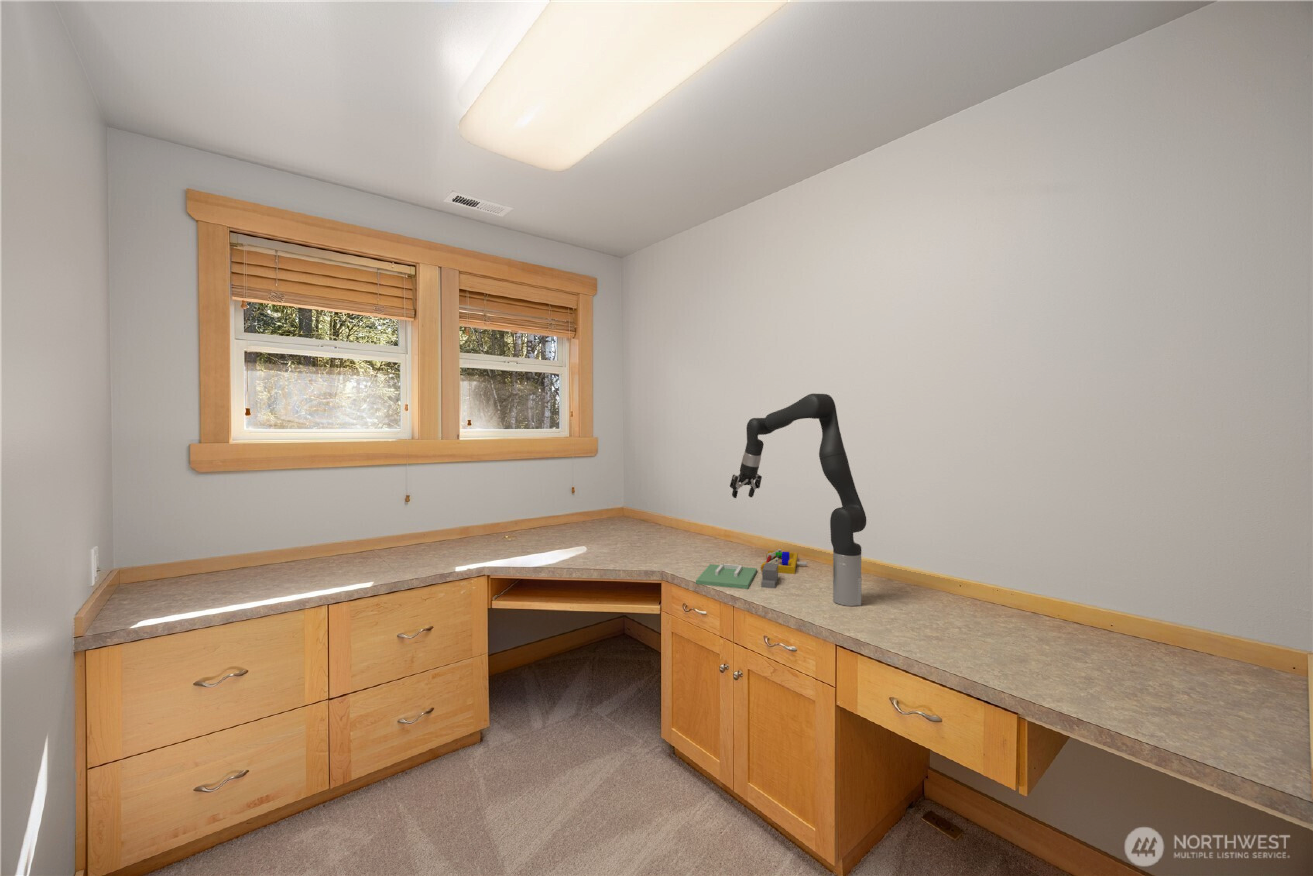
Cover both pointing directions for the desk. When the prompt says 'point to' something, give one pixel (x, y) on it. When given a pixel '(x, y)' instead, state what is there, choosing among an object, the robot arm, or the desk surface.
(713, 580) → the green plate with u-rail
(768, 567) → the grey stepped block
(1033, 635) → the desk surface
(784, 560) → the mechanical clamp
